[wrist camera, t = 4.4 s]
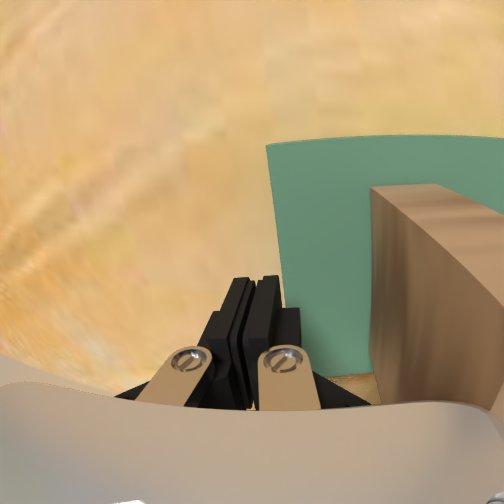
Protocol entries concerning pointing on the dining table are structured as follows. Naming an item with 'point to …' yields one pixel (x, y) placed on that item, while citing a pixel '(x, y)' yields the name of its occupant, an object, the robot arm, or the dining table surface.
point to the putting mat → (357, 224)
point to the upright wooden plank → (437, 297)
